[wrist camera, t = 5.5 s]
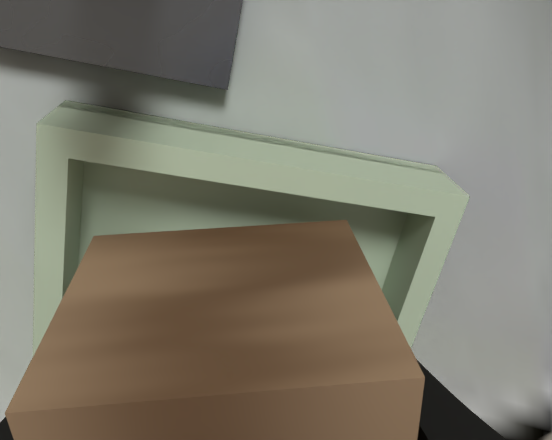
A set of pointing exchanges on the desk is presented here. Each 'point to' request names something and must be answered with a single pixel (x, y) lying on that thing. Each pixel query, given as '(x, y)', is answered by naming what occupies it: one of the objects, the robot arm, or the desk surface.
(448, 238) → the tray
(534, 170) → the desk surface
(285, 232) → the brown wooden block
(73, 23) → the grey base with stem
